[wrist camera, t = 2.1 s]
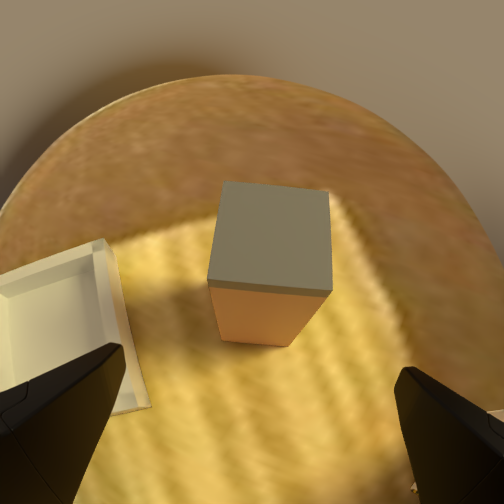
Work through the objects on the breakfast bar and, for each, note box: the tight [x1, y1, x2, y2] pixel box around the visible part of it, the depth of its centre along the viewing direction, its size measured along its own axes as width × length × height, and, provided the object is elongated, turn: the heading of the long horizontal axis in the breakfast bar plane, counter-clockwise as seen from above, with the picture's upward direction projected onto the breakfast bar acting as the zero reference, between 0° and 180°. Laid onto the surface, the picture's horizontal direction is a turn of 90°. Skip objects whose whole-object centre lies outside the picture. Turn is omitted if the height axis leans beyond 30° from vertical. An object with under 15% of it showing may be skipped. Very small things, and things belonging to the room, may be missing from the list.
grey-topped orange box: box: [207, 181, 333, 347], centre depth 17 cm, size 5×5×11 cm
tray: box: [0, 238, 152, 416], centre depth 19 cm, size 12×12×3 cm
